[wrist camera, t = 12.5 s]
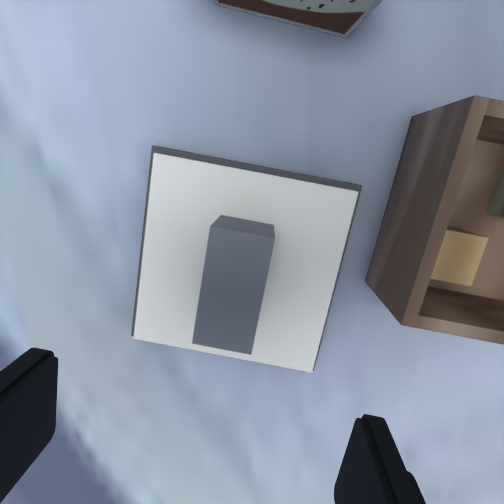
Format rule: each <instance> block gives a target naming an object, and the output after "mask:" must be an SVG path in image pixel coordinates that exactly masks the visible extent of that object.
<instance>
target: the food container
mask: <svg viewBox="0 0 504 504" xmlns="http://www.w3.org/2000/svg"><path fill="white" fill-rule="evenodd" d="M214 1H215V3H216V5H217V6H221V7H224V8H228V9H232V10H236V11H240V12H244V13H248V14H252V15H256V16H260V17H264V18H268V19H272V20H276V21H280V22H284V23H288V24H292V25H296V26H300V27H304V28H308V29H312V30H316V31H319V32H323V33H327V34H331V35H335V36H339V37H343V38H347V36H348V35H349V34H350V33H351V32H352V31H353V30H354V29H355V28H356V27H357V26H358V25H359V24H360V23H361V22H362V21H363V20H364V19H365V18H366V17H367V16H368V15H369V14H370V13H371V11H372V10H373V9H374V8H375V7H376V6H377V5H378V4H379V3H380V2H381V1H382V0H214Z"/></svg>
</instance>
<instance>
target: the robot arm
mask: <svg viewBox="0 0 504 504" xmlns="http://www.w3.org/2000/svg"><path fill="white" fill-rule="evenodd" d="M57 377H58V358H57V357H54V353H53V352H52V351H49V350H44V349H39V348H31V349H29V350H28V351H26V352H25V353H24V354H23V355H21V356H20V357H19V358H17V359H16V360H15V361H13V362H12V363H11V364H10V365H8V366H7V367H6V368H4V369H3V370H2V371H0V503H1V502H2V500H3V499H4V498H5V496H6V495H7V494H8V493H9V492H10V490H11V489H12V488H13V487H14V485H15V484H16V483H17V482H18V480H19V479H20V478H21V477H22V475H23V474H24V473H25V472H26V470H27V469H28V468H29V467H30V465H31V464H32V463H33V462H34V460H35V459H36V458H37V457H38V455H39V454H40V453H41V452H42V450H43V449H44V448H45V447H46V445H47V444H48V443H49V442H50V440H51V439H52V437H53V434H54V432H55V425H56V401H57ZM334 500H335V504H426V503H425V501H424V498H423V496H422V494H421V491H420V489H419V487H418V485H417V482H416V480H415V478H414V477H413V475H412V474H411V473H410V472H408V471H407V470H406V468H405V466H404V463H403V461H402V459H401V456H400V454H399V452H398V449H397V447H396V444H395V442H394V440H393V437H392V435H391V433H390V430H389V428H388V426H387V423H386V421H385V419H384V418H382V417H377V416H372V415H367V414H364V415H363V416H362V418H357V419H356V421H355V423H354V426H353V430H352V433H351V436H350V439H349V442H348V445H347V449H346V452H345V455H344V458H343V461H342V464H341V468H340V471H339V474H338V477H337V480H336V483H335V488H334Z"/></svg>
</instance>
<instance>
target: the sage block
mask: <svg viewBox="0 0 504 504" xmlns="http://www.w3.org/2000/svg"><path fill="white" fill-rule="evenodd" d="M487 213H488V214H493V215H497V216H502V217H504V166H503V169H502V172H501V175H500V178H499V180H498V183H497V186H496V189H495V192H494V194H493V197H492V200H491V203H490V206H489V208H488V211H487Z"/></svg>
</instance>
